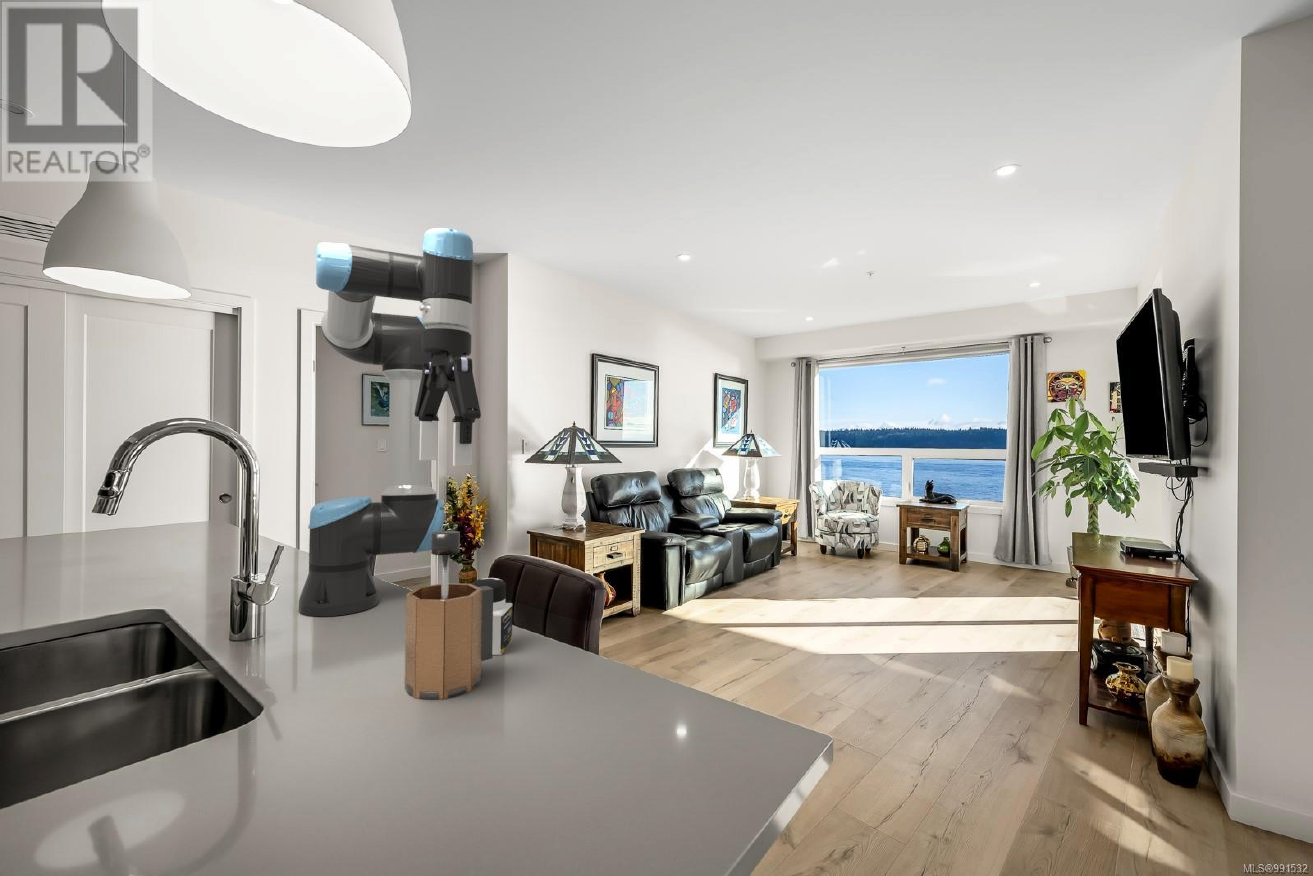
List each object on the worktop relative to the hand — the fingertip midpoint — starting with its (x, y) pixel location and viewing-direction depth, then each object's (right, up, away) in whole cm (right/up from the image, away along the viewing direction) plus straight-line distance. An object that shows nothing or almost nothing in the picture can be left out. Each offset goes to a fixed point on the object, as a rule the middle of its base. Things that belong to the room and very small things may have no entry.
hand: (444, 462), depth 95 cm
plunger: (+2, -32, -6) cm, 33 cm away
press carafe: (+3, -33, -5) cm, 34 cm away
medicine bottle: (+4, -33, +10) cm, 35 cm away
